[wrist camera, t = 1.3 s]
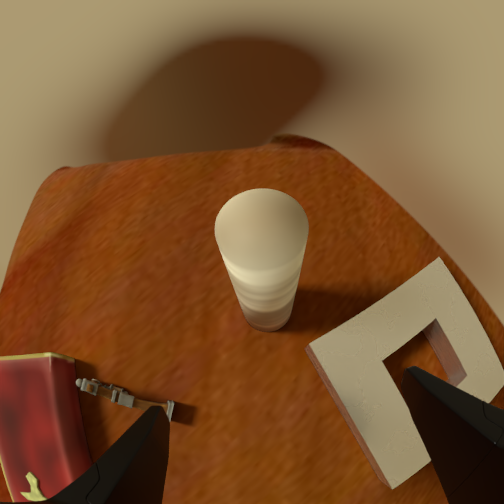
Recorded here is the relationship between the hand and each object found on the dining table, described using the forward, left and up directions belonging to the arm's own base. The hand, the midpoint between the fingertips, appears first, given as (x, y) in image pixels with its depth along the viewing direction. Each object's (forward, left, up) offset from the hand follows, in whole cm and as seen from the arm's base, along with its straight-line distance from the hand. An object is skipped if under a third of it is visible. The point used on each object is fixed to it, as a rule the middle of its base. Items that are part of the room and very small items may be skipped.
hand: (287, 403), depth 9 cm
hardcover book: (+1, +25, -14) cm, 28 cm away
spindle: (+7, -3, -13) cm, 15 cm away
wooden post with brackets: (+4, +11, -13) cm, 18 cm away
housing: (-5, -11, -13) cm, 17 cm away
